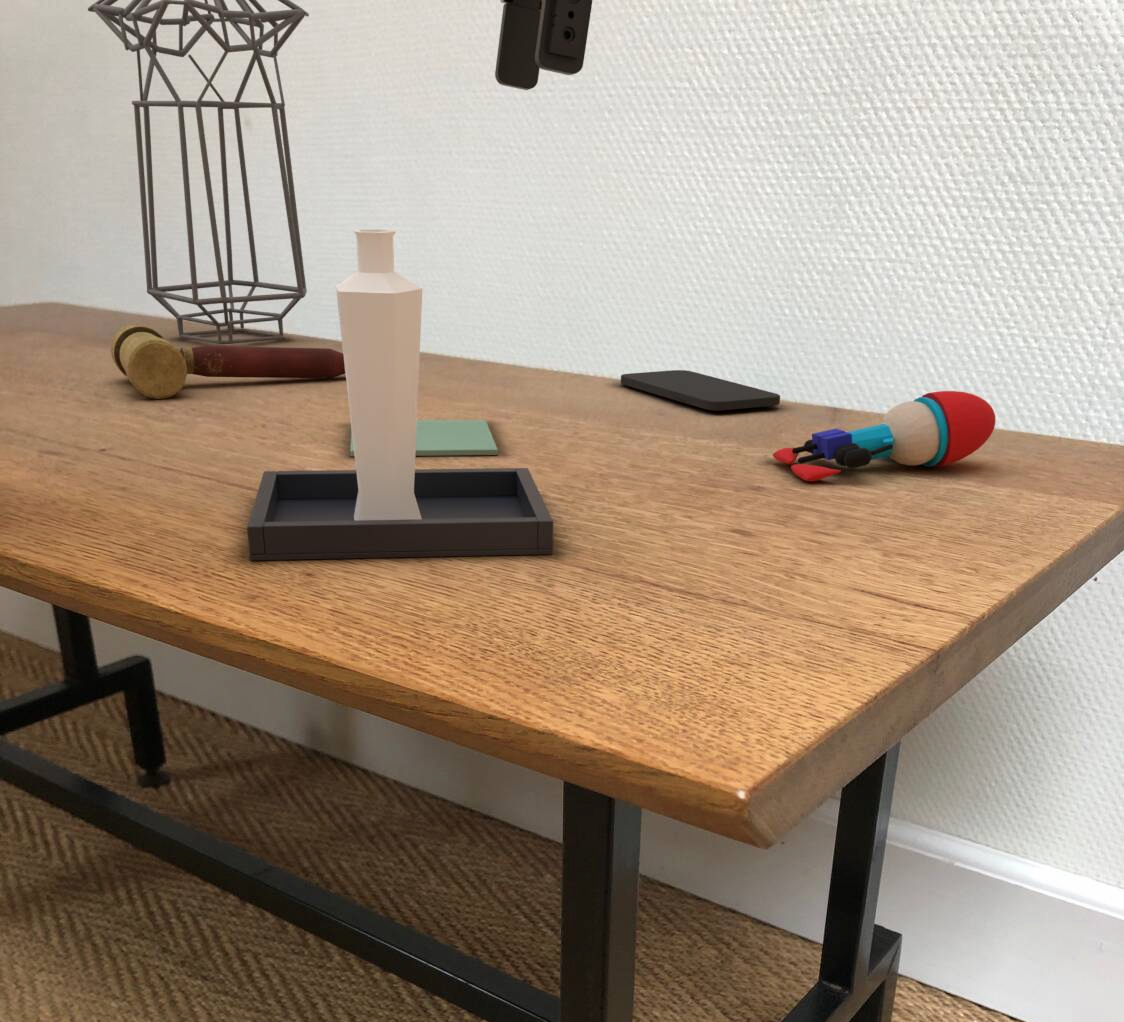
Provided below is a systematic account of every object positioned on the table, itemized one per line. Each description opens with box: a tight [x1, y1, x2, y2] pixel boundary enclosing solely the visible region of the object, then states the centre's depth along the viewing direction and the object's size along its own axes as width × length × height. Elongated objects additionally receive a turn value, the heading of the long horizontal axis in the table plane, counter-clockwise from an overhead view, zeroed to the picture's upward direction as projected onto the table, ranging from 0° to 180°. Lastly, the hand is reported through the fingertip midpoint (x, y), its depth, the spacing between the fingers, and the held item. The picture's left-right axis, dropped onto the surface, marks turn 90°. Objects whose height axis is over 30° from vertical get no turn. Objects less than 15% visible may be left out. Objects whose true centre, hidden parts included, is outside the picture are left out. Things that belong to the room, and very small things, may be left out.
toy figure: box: [772, 390, 996, 482], centre depth 85 cm, size 8×5×15 cm
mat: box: [349, 419, 499, 458], centre depth 90 cm, size 10×10×1 cm
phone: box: [620, 369, 781, 412], centre depth 108 cm, size 7×1×15 cm
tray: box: [246, 467, 554, 562], centre depth 70 cm, size 16×12×2 cm
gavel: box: [110, 323, 346, 400], centre depth 108 cm, size 21×5×10 cm
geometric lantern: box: [87, 0, 310, 345], centre depth 123 cm, size 16×16×35 cm
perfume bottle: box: [335, 228, 423, 520], centre depth 67 cm, size 5×4×15 cm
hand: (535, 79), depth 63 cm, fingers open, 8 cm apart
